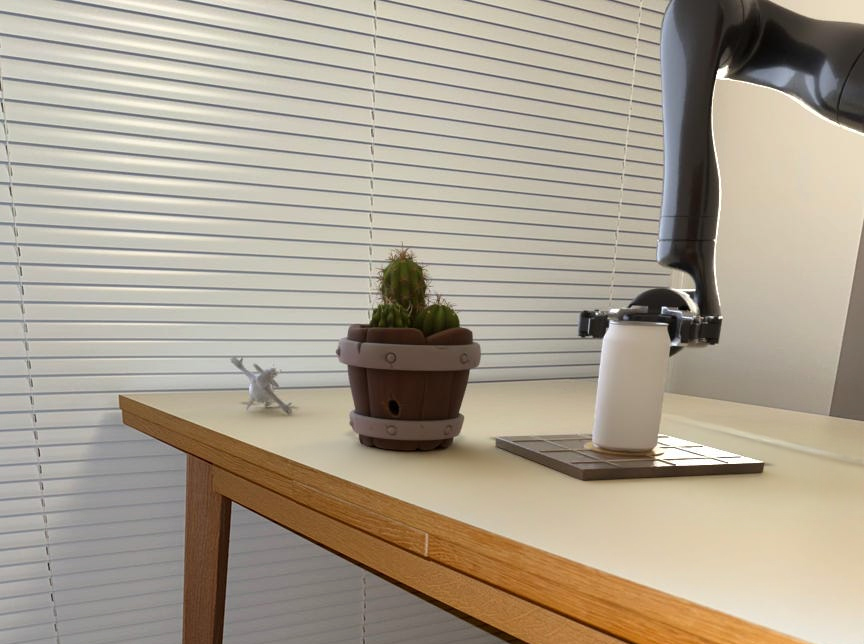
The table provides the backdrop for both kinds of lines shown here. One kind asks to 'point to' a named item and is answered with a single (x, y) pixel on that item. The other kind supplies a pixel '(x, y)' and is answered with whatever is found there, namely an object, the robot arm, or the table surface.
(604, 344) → the can
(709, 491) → the table surface
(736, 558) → the table surface
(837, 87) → the robot arm
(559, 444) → the board
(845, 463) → the table surface
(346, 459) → the table surface
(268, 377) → the spiky grey figurine
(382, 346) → the flowerpot
